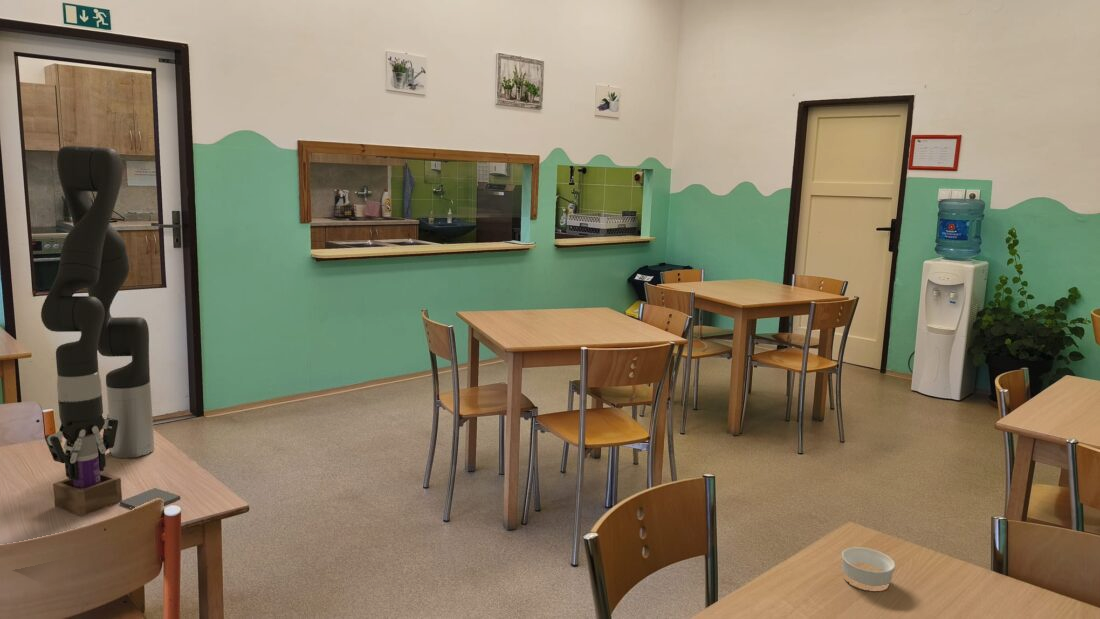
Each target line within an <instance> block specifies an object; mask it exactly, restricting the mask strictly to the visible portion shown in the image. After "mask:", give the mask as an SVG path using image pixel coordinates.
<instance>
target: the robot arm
mask: <svg viewBox="0 0 1100 619" xmlns="http://www.w3.org/2000/svg"><path fill="white" fill-rule="evenodd" d="M122 163H123V162H122V158H121V156H120V154H119V152H118V151H116V150H115V149H113V148H110V147H101V146H100V147H99V146H82V145H65V146H63V147H61V148H60V149H59V150H58V152H57V156H56V167H57V169H56V170H57V174H58V179H59V181H60V185H61V188H62V191H63V194H64V198H65V201H66V204H67V207H68V211H69V214H70V217H71V221H72V225H73V227H72V229H70V230H69V232H68V234H66V237H65V238H64V241H63V242H62V247H61V250H60V259H59V264H58V271H57V274H56V277H55V279H54V281H53V283H52V285H51V288H50V289H49V292H48V293H47V295H46V297H45V299H44V301H43V303H42V306H41V310H40V311H41V312H40V317H41V323H42V324H43V326H44V327H45V328H46V329H47V330H48V331H51V332H53V333H54V332H56V333H71V332H73V333H75V332H77V333H78V332H79V333H80V338H79V340H77V341H70V342H65V343H63V344H60V345H59V346H57V348H56V350H55V360H56V362H55V364H56V373H57V380H56V388H57V389H56V390H57V391H56V392H57V403H58V414H59V419H60V427H59V428H58V429H59V430H58V431H56V432H55V433H53V434H46V435H45V437H44V440H45V442H46V445H47V447H48V449H49V452H50V456H52V460H53V461H54V462H58V463H60V464H64V469H65V477H66V478H67V479H68V478H69V479H71V480H77V479H78V478H79V477H78V465H77V462H76V459H77V455H78V452H79V451H80V449H81V445H82V438H83V437H84V436H85V435H89V434H96V441H97V446H98V455H99V468H100V472H103V471H105V467H106V465H107V463H106V453H107V451H108V452H110V454H111V456H112V457H114V458H119V459H130V458H138V457H143V456H146V455H148V454H150V452H151V453H152V452H154V450H155V441H154V440H155V439H154V438H155V437H154V436H155V435H154V422H153V421H154V420H153V404H152V391H151V377H150V376H151V375H150V369H151V368H150V330H149V324H148V322H147V320H146V319H145V318H144V317H140V316H129V317H126V316H125V317H122V316H121V317H120V316H119V317H114V316H112V315H111V310H110V309H111V306H112V304H113V301H114V300H115V297H116V295H117V294H118V293H119V291H120V289H121V288H122V286H123V285H124V283H125V282H126V280H127V278H128V276H129V273H130V261H129V257H128V251H127V247H126V246H127V245H126V243H125V240H124V239H123V237H122V235H121V234H120V233H119V232H118V231H117V229H115V227H113V226H112V224H110V222H111V219H112V216H113V213H114V211H115V206H116V204H117V200H118V196H119V193H120V189H121V186H122V182H123V181H122V180H123V172H124V171H123V164H122ZM89 192H94V193H95V192H96V195H95V199H94V200H93V201H92V199H91V197H90V193H89ZM83 289H87V295H85V296H84V295H82V296H81V295H79V296H78V295H74V294H75V293H76V292H78V291H81V290H83ZM98 353H99V354H100V356H103V357H111V358H112V357H113V358H115V357H131V358H132V359H131V361H130V362H129V363H127V364H126V365H124V366H123V365H122V366H121V367H118V368H115V369H113V370H110V371H109V372H107V374H106V375H105V385H106V386H105V387H106V399H107V411H108V412H107V415H106V419H105V418H104V417H103V413H104V407H103V406H104V405H103V393H102V381H101V376H100V372H99V358H98ZM102 429H103V432H102V435H101V431H102ZM62 438H64V439H65V442H64V446H62V443H63V439H62ZM71 444H74V446H73V447H72V446H71ZM142 455H143V456H142Z"/></svg>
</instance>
